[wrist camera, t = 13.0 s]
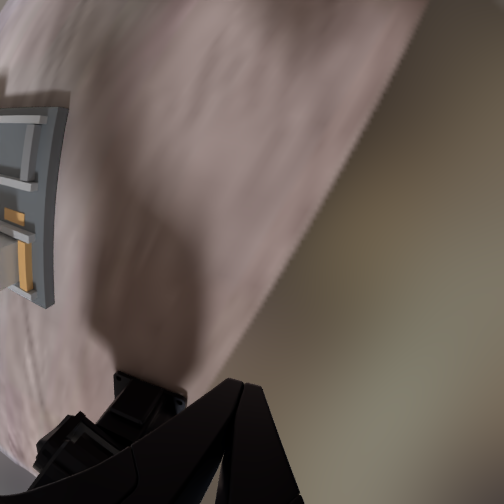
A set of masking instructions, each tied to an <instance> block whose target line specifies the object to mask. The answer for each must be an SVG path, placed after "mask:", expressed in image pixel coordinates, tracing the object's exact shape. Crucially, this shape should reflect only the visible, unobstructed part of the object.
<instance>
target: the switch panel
mask: <svg viewBox="0 0 504 504" xmlns="http://www.w3.org/2000/svg"><path fill="white" fill-rule="evenodd" d="M68 110H69V109H68V108H62V107H21V108H0V232H1V233H3V234H5V235H7V236H10V237H12V238H14V239H17V240H18V266H19V282H17V283H15V284H13V285H11V286H9V287H7V288H9V289H10V290H12V291H14V292H16V293H17V294H19V295H21V296H23V297H24V298H26V299H28V300H30V301H32V302H33V303H35V304H37V305H39V306H41V307H43V308H45V309H47V308H48V307H50V306H52V305H53V304H54V285H53V232H54V212H55V198H56V187H57V178H58V169H59V162H60V154H61V148H62V142H63V136H64V130H65V125H66V120H67V115H68Z"/></svg>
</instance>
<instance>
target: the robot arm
mask: <svg viewBox="0 0 504 504" xmlns="http://www.w3.org/2000/svg"><path fill="white" fill-rule="evenodd" d="M114 395H115V400H114V401H113V402H112V404H111V405H110V406H109V407H108V409H107V410H106V411H105V412H104V414H103V415H102V416H101V417H100V419H99V420H98V421H97V422H96V424H94V423H93V422H91V421H90V420H89V419H88V418H87V417H85V416H86V415H85V414H83V413H82V412H81V411H80V412H79V413H78V414H77V415H76V416H73V415H72V416H71V415H67V416H66V417H65V418H64V419H63V421H62V422H61V423H60V424H59V425H58V426H57V427H56V428H55V429H53V430H52V431H51V432H49V433H48V434H47V435H46V436H44V437H43V438H42V439H40V440H39V441H38V443H37V444H36V447H37V452H38V454H37V456H36V459H37V460H36V461H35V463H34V465H33V468H34V469H35V470H37V471H38V472H39V473H40V474H39V475H38V477H37V478H36V479H35V481H34V482H33V483H32V485H31V486H30V488H29V489H28V490H27V491H26V492H23V493H19V494H13V495H0V504H200V503H201V501H202V499H203V497H204V495H205V493H206V491H207V489H208V487H209V485H210V483H211V481H212V479H213V477H214V475H215V473H216V471H217V469H218V467H219V465H220V463H221V460H222V457H223V460H222V464H221V469H220V475H219V481H218V488H217V494H216V500H215V504H304V501H303V498H302V496H301V495H299V494H300V491H299V489H298V486H297V483H296V480H295V478H294V475H293V473H292V470H291V467H290V465H289V462H288V459H287V456H286V454H285V451H284V448H283V446H282V443H281V440H280V437H279V434H278V432H277V429H276V426H275V423H274V420H273V418H272V415H271V412H270V409H269V406H268V403H267V401H266V398H265V395H264V392H263V389H262V387H261V386H258V385H255V384H250V383H245V384H244V383H243V382H242V381H239V380H235V379H232V378H227V379H225V380H224V381H223V382H221V383H220V384H219V385H217V386H216V387H215V388H213V389H212V390H211V391H209V392H208V393H206V394H205V395H204V396H202V397H201V398H200V399H198V400H197V401H195V402H194V403H193V404H191V405H190V406H188V407H187V408H186V404H187V400H186V398H185V397H184V396H182V395H179V394H176V393H173V392H171V391H168V390H165V389H162V388H160V387H157V386H155V385H152V384H150V383H147V382H145V381H142V380H140V379H137V378H135V377H132V376H130V375H128V374H125V373H123V372H121V371H117V372H116V373H115V374H114ZM180 401H181V402H180ZM223 455H224V456H223Z"/></svg>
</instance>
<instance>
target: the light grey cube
mask: <svg viewBox="0 0 504 504" xmlns="http://www.w3.org/2000/svg"><path fill="white" fill-rule="evenodd" d="M17 282H19V266H18V240H17V239H14V238H12V237H10V236H7V235H5V234H3V233H1V232H0V291H1V290H3V289H5V288H7V287H9V286H11V285H13V284H15V283H17Z"/></svg>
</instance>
